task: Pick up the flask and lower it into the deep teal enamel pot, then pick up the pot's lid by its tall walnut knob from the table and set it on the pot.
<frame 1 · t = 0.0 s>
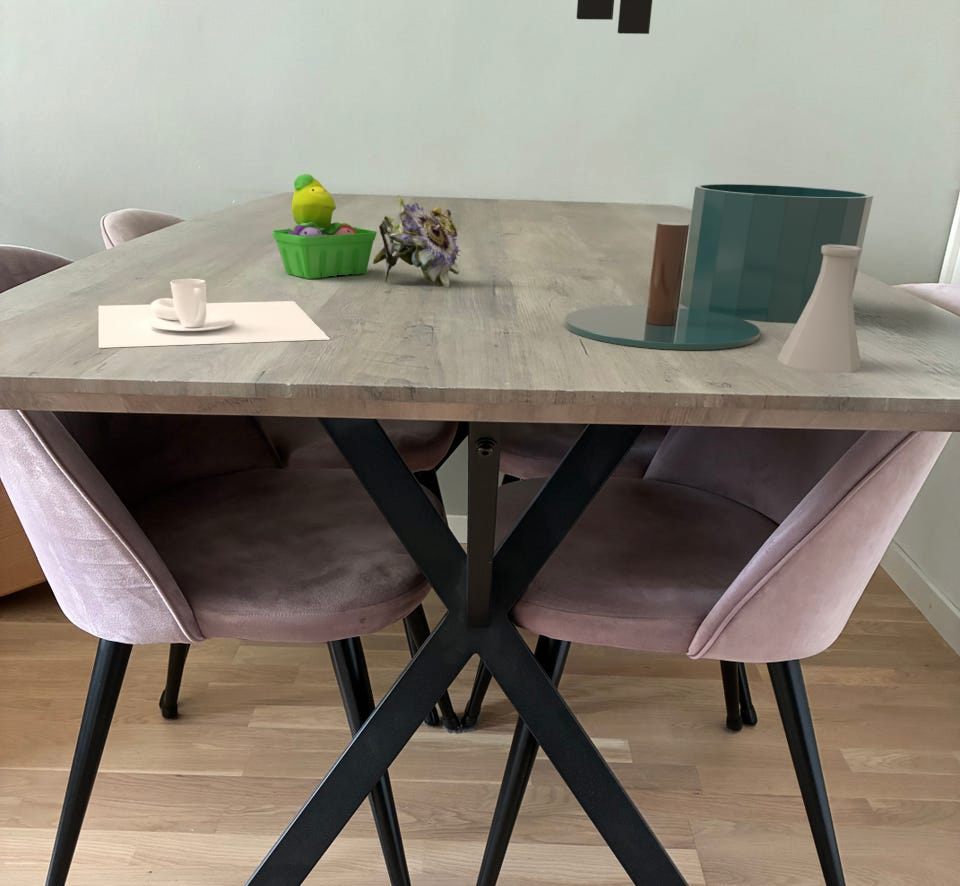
hand: (615, 27, 80), 25 cm above the table, tool pointing down, fingers open, 13 cm apart
passion flower: (414, 286, 116), on the table
teacup and saucer: (208, 323, 93), on the table
pot: (761, 312, 108), on the table
fruit basket: (324, 275, 122), on the table
lid: (660, 329, 94), point 1 cm above the table
flask: (816, 371, 84), on the table
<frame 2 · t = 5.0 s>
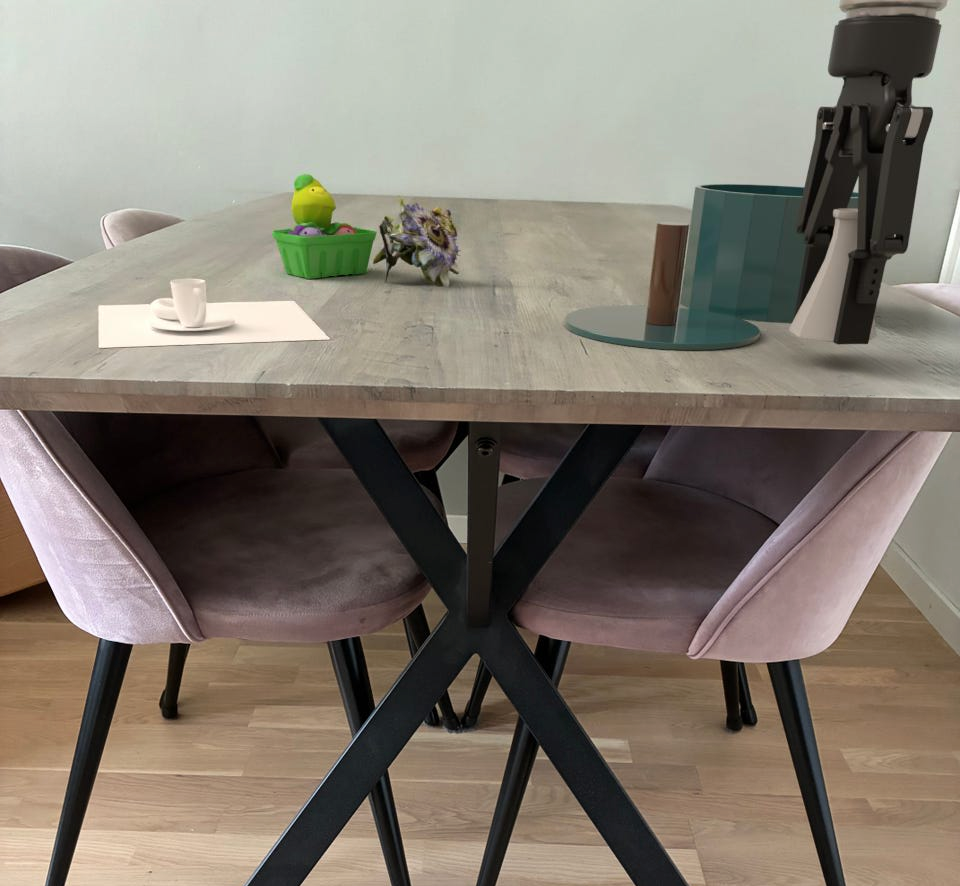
hand: (828, 333, 82), 3 cm above the table, tool pointing down, fingers closed on flask, 7 cm apart
flask: (830, 338, 82), point 3 cm above the table, touching gripper
everything else where it was.
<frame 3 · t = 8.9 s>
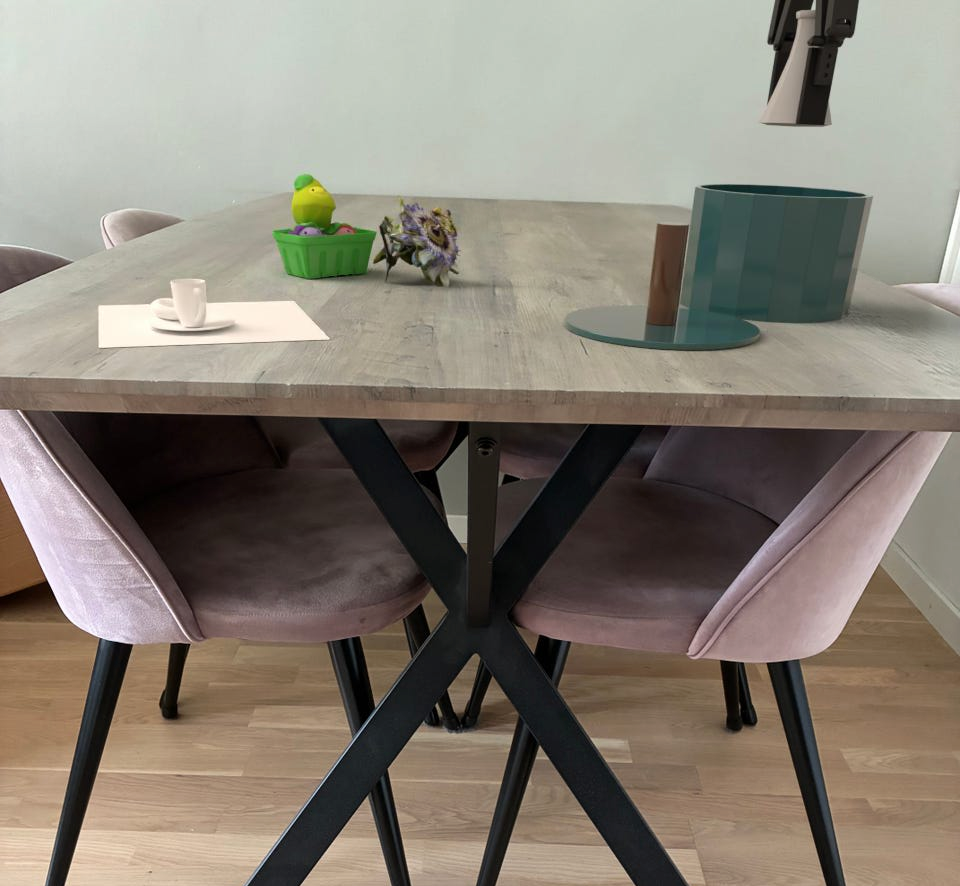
hand: (793, 123, 98), 19 cm above the table, tool pointing down, fingers closed on flask, 7 cm apart
flask: (794, 128, 99), point 18 cm above the table, touching gripper
everything else where it was.
when the fingers open (2 cm above the table, at t = 13.2 s): flask drops 1 cm, resting on pot.
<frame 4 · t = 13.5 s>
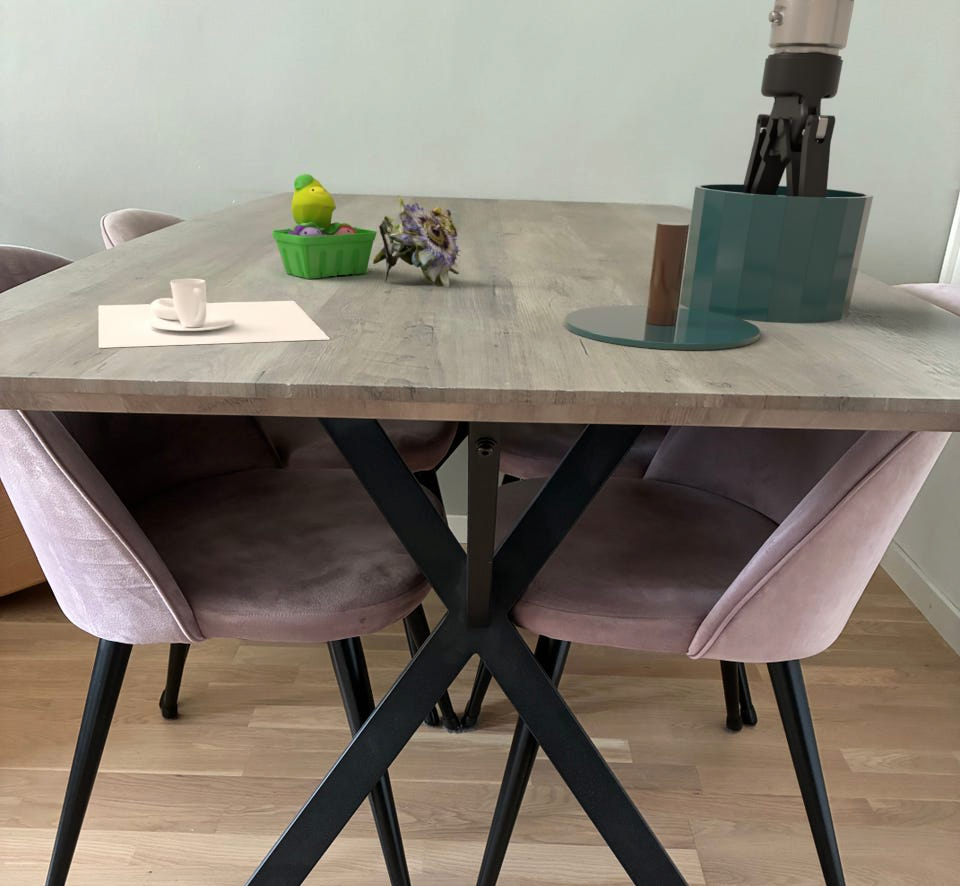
hand: (765, 287, 106), 3 cm above the table, tool pointing down, fingers open, 9 cm apart
flask: (764, 309, 107), resting on pot
everything else where it was.
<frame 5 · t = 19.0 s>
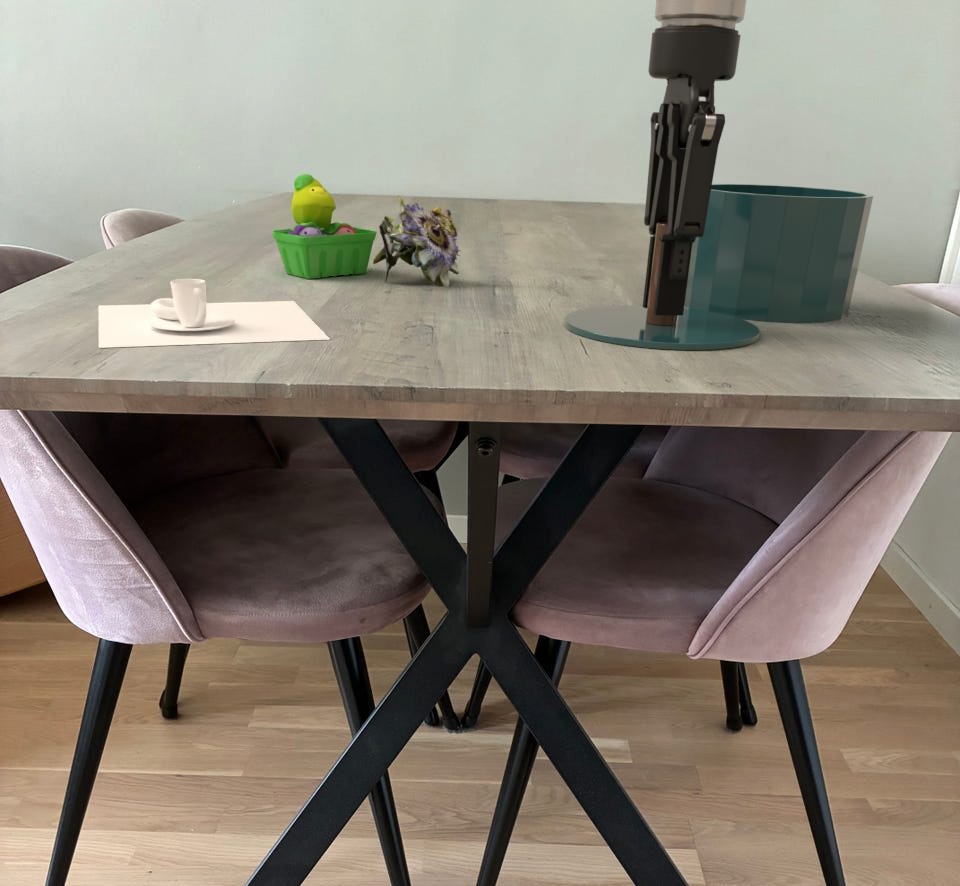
hand: (662, 310, 93), 2 cm above the table, tool pointing down, fingers closed on lid, 3 cm apart
lid: (660, 329, 94), point 1 cm above the table, touching gripper
everything else where it was.
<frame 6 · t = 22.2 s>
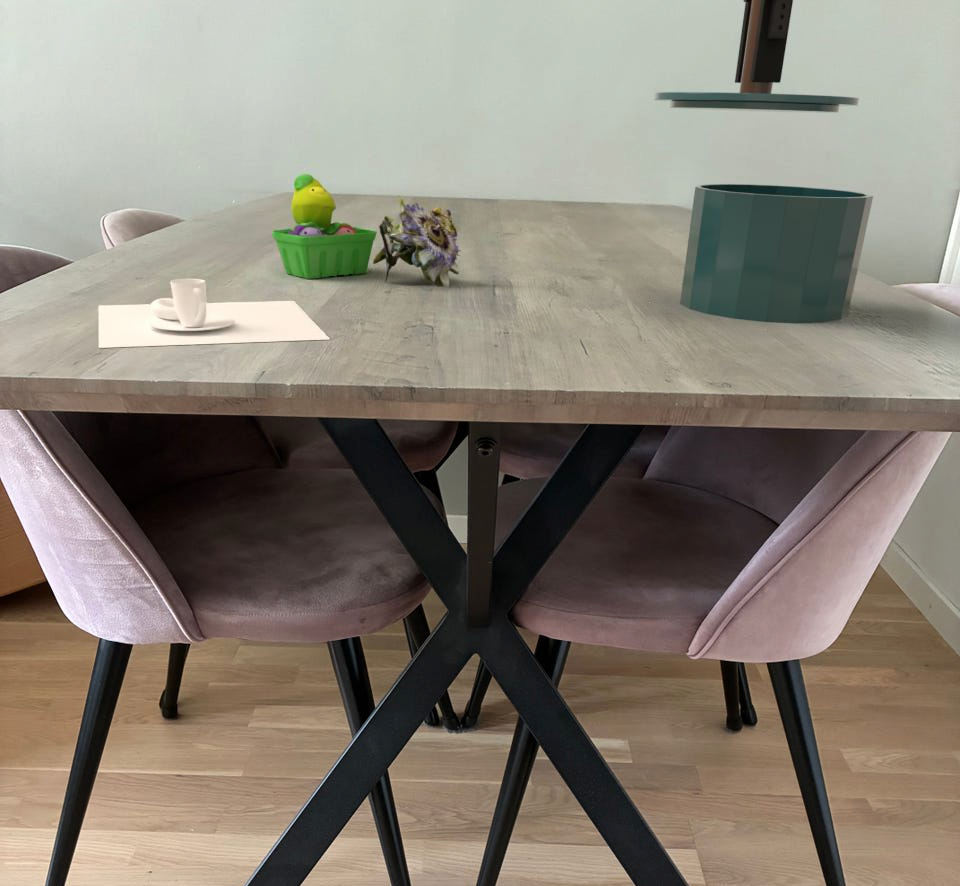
hand: (757, 81, 91), 22 cm above the table, tool pointing down, fingers closed on lid, 3 cm apart
lid: (753, 103, 92), point 20 cm above the table, touching gripper
everything else where it was.
when the fingers open (14 cm above the table, at t = 25.6 s): lid stays where it is, resting on pot.
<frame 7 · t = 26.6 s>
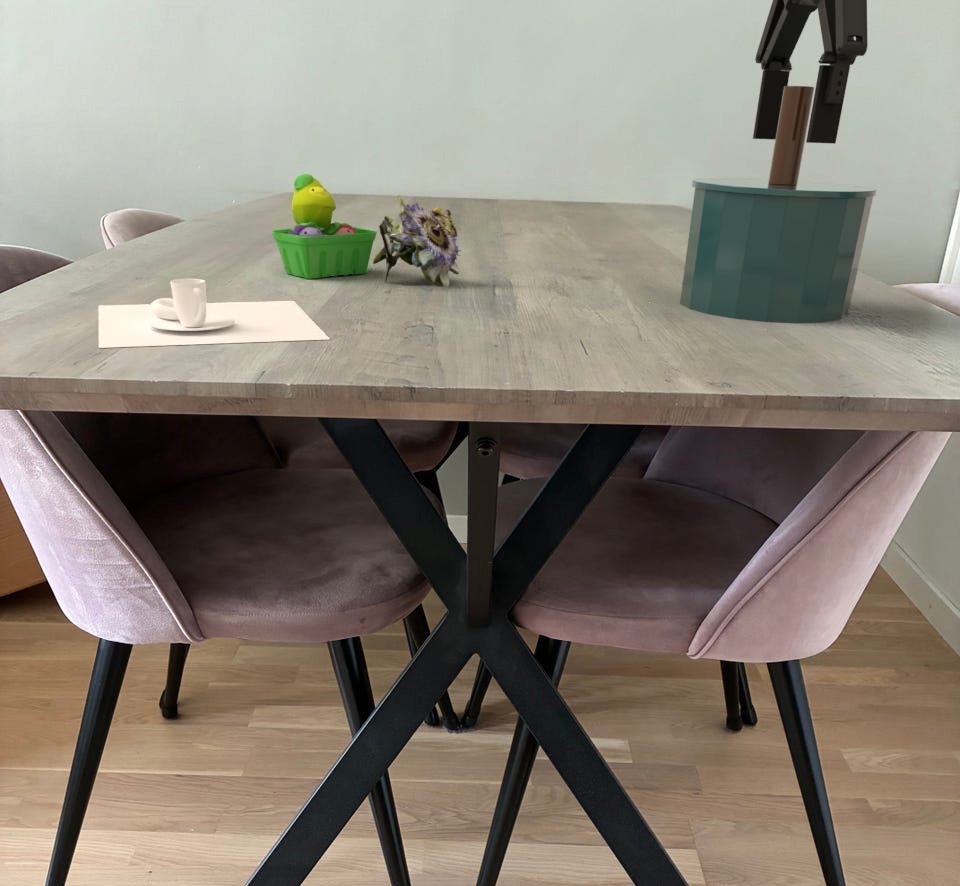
hand: (791, 141, 99), 17 cm above the table, tool pointing down, fingers open, 13 cm apart
lid: (781, 190, 102), point 12 cm above the table, touching pot
everything else where it was.
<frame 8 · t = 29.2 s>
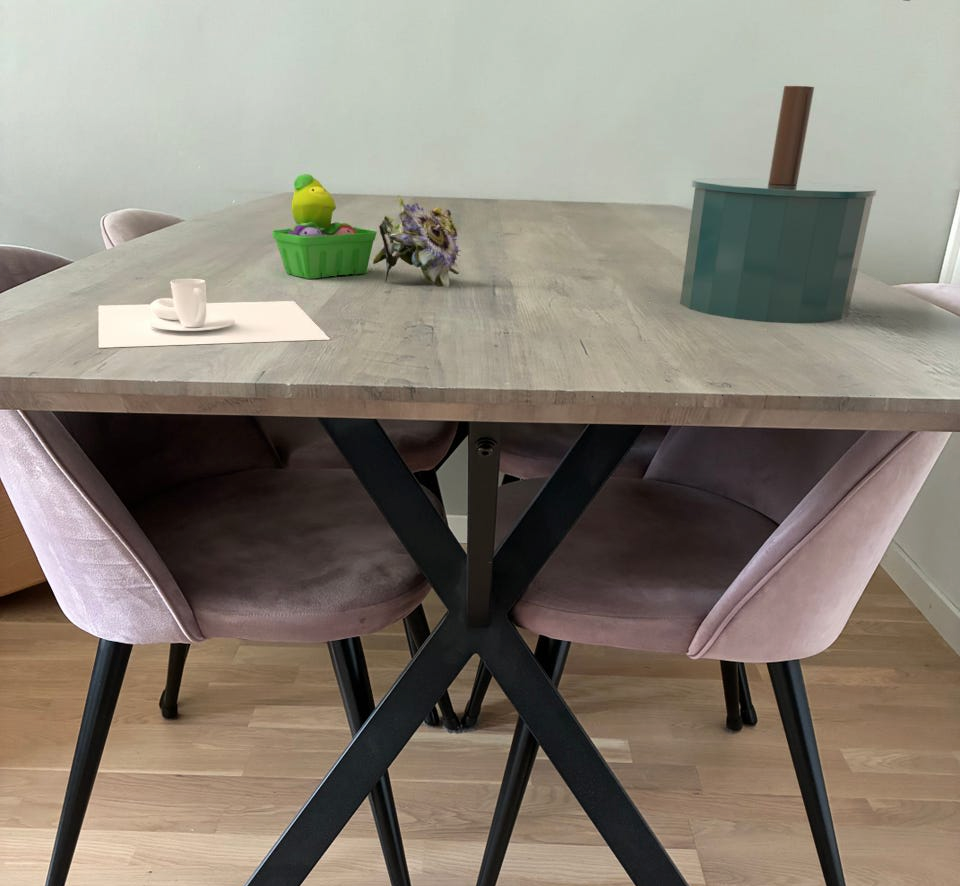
nothing on the table moved.
at the end: flask inside the target area in the pot (0.3 cm from its centre), point 0.3 cm above the pot's base; lid 0.0 cm off-centre on the pot, point 12.5 cm above the pot's base; lid tilted 0° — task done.
